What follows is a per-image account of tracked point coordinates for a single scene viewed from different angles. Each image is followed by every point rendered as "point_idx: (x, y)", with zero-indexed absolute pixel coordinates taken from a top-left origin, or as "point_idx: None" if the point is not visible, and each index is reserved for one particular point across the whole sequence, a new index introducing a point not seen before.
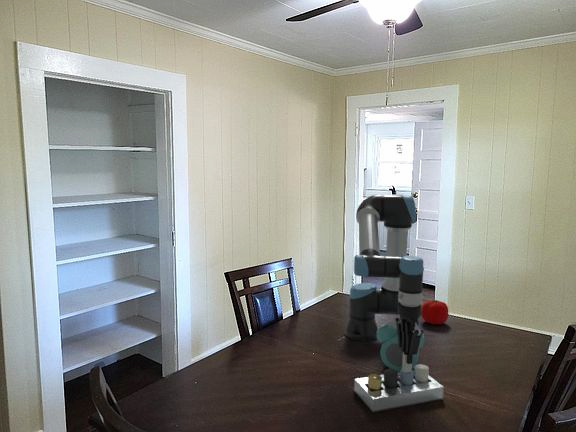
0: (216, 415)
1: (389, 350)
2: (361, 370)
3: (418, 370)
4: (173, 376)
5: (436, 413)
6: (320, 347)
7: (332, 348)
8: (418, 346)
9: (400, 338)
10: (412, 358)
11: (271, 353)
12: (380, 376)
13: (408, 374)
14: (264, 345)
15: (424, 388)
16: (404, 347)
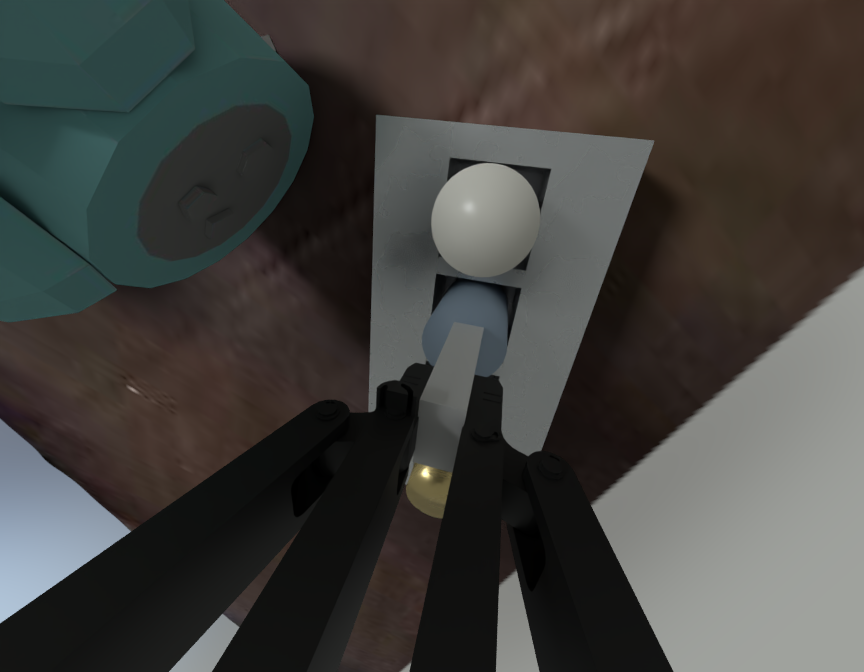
0: (375, 648)
1: (185, 243)
2: (259, 328)
3: (496, 274)
4: (237, 624)
5: (681, 288)
6: (88, 347)
7: (90, 314)
8: (636, 608)
9: (276, 547)
10: (501, 410)
11: (142, 475)
12: (441, 476)
13: (496, 360)
14: (98, 464)
15: (583, 285)
16: (400, 494)
